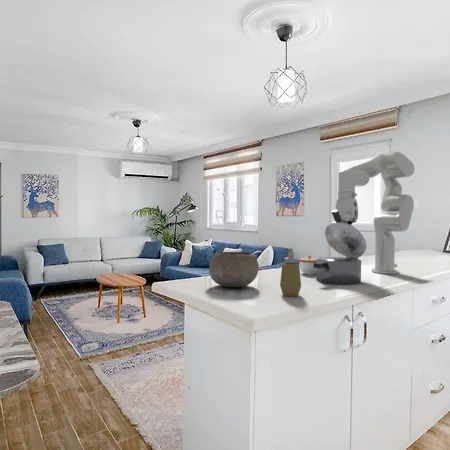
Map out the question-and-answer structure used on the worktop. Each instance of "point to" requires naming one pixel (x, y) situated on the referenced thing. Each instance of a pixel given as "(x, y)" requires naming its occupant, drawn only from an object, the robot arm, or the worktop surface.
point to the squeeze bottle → (290, 276)
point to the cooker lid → (345, 238)
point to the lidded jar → (308, 265)
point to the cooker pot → (338, 270)
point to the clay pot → (233, 268)
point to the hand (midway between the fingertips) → (345, 234)
